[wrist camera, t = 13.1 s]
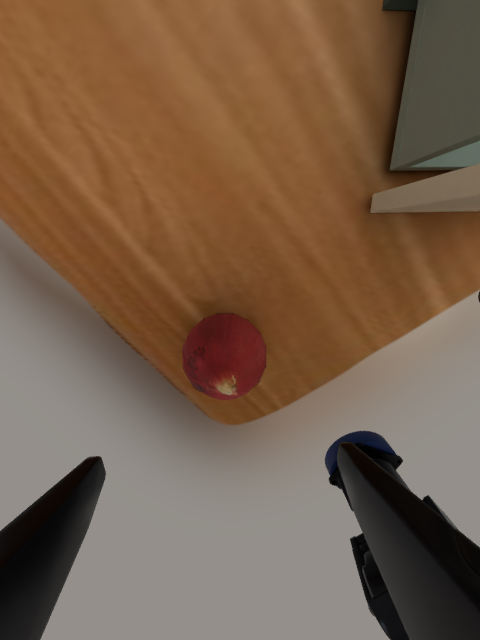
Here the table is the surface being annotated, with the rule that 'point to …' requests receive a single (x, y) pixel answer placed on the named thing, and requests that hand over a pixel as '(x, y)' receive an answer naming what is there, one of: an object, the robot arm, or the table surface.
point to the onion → (224, 356)
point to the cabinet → (400, 4)
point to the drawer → (439, 112)
